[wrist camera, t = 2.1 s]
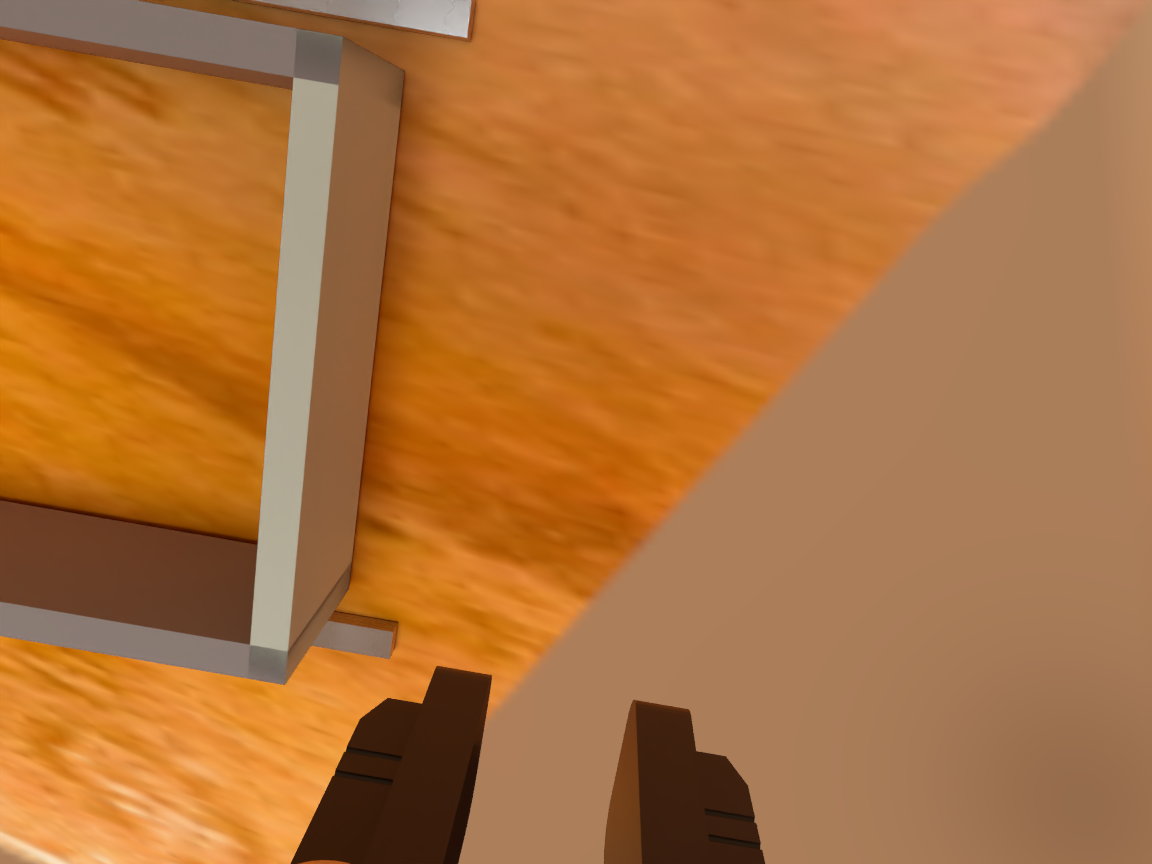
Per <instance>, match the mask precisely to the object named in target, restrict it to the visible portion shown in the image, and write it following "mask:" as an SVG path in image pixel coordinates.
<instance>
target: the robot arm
mask: <svg viewBox="0 0 1152 864" xmlns="http://www.w3.org/2000/svg"><path fill="white" fill-rule="evenodd" d="M491 680H492V675H487V674H482V673H476V672H470V671H464V670H458V669H453V668H447V667H441V666H437V667H436V669H435V671H434V674H433V676H432V679H431V682H430V684H429V687H428V690H427V692H426V695H425V698H424V700H423V703H422V704H420V703H414V702H408V701H402V700H397V699H391V698H387V699H386V700H385V701H383V702H382V703H381V704H379V705H378V706H377V707H375V708H374V709H373V710H371V711H370V712H369V713H367V714H366V715H365V716H363V717H362V718H361V719H360V720H359V723H358V725H357V727H356V729H355V731H354V733H353V735H352V737H351V739H350V741H349V743H348V745H347V749H346V752H344V754H343V756H342V758H341V760H340V762H339V764H338V766H337V768H336V771H335V775H334V776H333V777H332V779H331V781H330V783H329V785H328V787H327V789H326V791H325V793H324V795H323V797H322V799H321V801H320V804H319V806H318V808H317V810H316V812H315V814H314V816H313V818H312V820H311V822H310V824H309V826H308V829H307V831H306V833H305V835H304V837H303V839H302V841H301V843H300V845H299V847H298V849H297V851H296V853H295V856H294V858H293V860H292V862H291V864H458V862H459V857H460V853H461V849H462V845H463V841H464V836H465V832H466V827H467V823H468V818H469V813H470V808H471V803H472V798H473V793H474V787H475V781H476V775H477V769H478V763H479V757H480V750H481V744H482V738H483V732H484V726H485V719H486V713H487V707H488V701H489V694H490V688H491ZM754 818H755V816H754V812H753V807H752V802H751V798H750V793H749V789H748V785H747V784H746V783H745V782H744V780H743V779H742V777H741V776H740V775H739V773H738V772H737V771H736V770H735V768H734V767H733V765H732V764H731V763H730V761H729V760H728V759H727V758H726V756H720V755H715V754H709V753H703V752H697V751H696V748H695V741H694V734H693V726H692V721H691V714H690V711H689V710H688V709H683V708H677V707H672V706H666V705H660V704H654V703H648V702H642V701H636V700H633V702H632V704H631V708H630V711H629V715H628V720H627V724H626V730H625V734H624V739H623V743H622V749H621V753H620V758H619V763H618V768H617V772H616V777H615V782H614V787H613V791H612V796H611V801H610V806H609V813H608V819H607V827H606V836H605V849H604V864H765V861H764V856H763V852H762V850H760V839H759V834H758V829H757V825H756V823H754Z"/></svg>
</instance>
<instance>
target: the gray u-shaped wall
mask: <svg viewBox="0 0 1152 864" xmlns="http://www.w3.org/2000/svg"><path fill="white" fill-rule="evenodd" d="M0 39H4V40H10V41H16V42H22V43H27V44H33V45H39V46H45V47H50V48H56V49H62V50H67V51H73V52H79V53H85V54H90V55H96V56H102V57H108V58H113V59H119V60H125V61H131V62H136V63H142V64H148V65H153V66H159V67H165V68H171V69H176V70H182V71H188V72H194V73H199V74H205V75H211V76H217V77H222V78H228V79H234V80H239V81H245V82H251V83H257V84H262V85H268V86H274V87H280V88H285V89H291V90H293V91H292V104H291V117H290V130H289V143H288V156H287V169H286V182H285V195H284V208H283V221H282V234H281V247H280V260H279V273H278V287H277V300H276V313H275V326H274V339H273V352H272V365H271V378H270V391H269V404H268V417H267V430H266V443H265V456H264V469H263V482H262V496H261V509H260V522H259V535H258V545H256V544H250V543H244V542H238V541H233V540H227V539H221V538H215V537H209V536H204V535H198V534H192V533H186V532H180V531H175V530H169V529H163V528H157V527H151V526H146V525H140V524H134V523H128V522H122V521H117V520H111V519H105V518H99V517H93V516H88V515H82V514H76V513H70V512H65V511H59V510H53V509H47V508H41V507H36V506H30V505H24V504H18V503H12V502H7V501H1V500H0V636H4V637H10V638H16V639H21V640H27V641H33V642H39V643H45V644H50V645H56V646H62V647H68V648H74V649H79V650H85V651H91V652H97V653H103V654H108V655H114V656H120V657H126V658H132V659H138V660H143V661H149V662H155V663H161V664H167V665H172V666H178V667H184V668H190V669H196V670H201V671H207V672H213V673H219V674H225V675H231V676H236V677H242V678H248V679H254V680H260V681H265V682H271V683H277V684H283V685H285V684H286V683H287V681H288V680H289V678H290V677H291V675H292V674H293V672H294V671H295V669H296V667H297V666H298V664H299V663H300V661H301V660H302V658H303V657H304V655H305V654H306V652H307V651H308V649H309V648H310V646H311V645H312V643H313V642H314V640H315V639H316V637H317V636H318V634H319V633H320V631H321V630H322V628H323V627H324V625H325V624H326V622H327V621H328V619H329V618H330V616H331V615H332V613H333V612H334V610H335V609H336V607H337V606H338V604H339V603H340V601H341V600H342V598H343V597H344V595H345V594H346V592H347V591H348V589H349V582H350V573H351V564H352V555H353V545H354V536H355V527H356V518H357V508H358V499H359V490H360V481H361V471H362V462H363V453H364V443H365V434H366V425H367V416H368V406H369V397H370V388H371V379H372V369H373V360H374V351H375V342H376V332H377V323H378V314H379V304H380V295H381V286H382V277H383V267H384V258H385V249H386V240H387V230H388V221H389V212H390V203H391V193H392V184H393V175H394V165H395V156H396V147H397V138H398V128H399V119H400V110H401V101H402V91H403V82H404V73H405V71H404V70H402V69H400V68H398V67H397V66H395V65H393V64H391V63H389V62H388V61H386V60H384V59H382V58H381V57H379V56H377V55H375V54H373V53H372V52H370V51H368V50H366V49H365V48H363V47H361V46H359V45H357V44H356V43H354V42H352V41H350V40H349V39H347V38H345V37H343V36H338V35H332V34H326V33H321V32H315V31H309V30H303V29H298V28H292V27H286V26H281V25H275V24H269V23H263V22H258V21H252V20H246V19H240V18H235V17H229V16H223V15H218V14H212V13H206V12H200V11H195V10H189V9H183V8H177V7H172V6H166V5H160V4H155V3H149V2H143V1H137V0H0Z"/></svg>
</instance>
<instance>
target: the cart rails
mask: <svg viewBox="0 0 1152 864" xmlns="http://www.w3.org/2000/svg"><path fill="white" fill-rule="evenodd" d="M234 1H240V2H245V3H251V4H257V5H263V6H268V7H274V8H280V9H286V10H291V11H297V12H303V13H308V14H314V15H320V16H326V17H331V18H337V19H343V20H348V21H354V22H360V23H366V24H371V25H377V26H383V27H389V28H394V29H400V30H406V31H411V32H417V33H423V34H429V35H434V36H440V37H446V38H451V39H457V40H463V41H469V42H471V35H472V27H473V19H474V11H475V2H474V1H473V0H234ZM397 625H398V622H392V621H387V620H381V619H375V618H369V617H363V616H358V615H352V614H346V613H340V612H333V613H332V615H331V616H330V618H329V619H328V621H327V622H326V624H325V625H324V627H323V628H322V630H321V631H320V633H319V634H318V636H317V637H316V639H315V640H314V642H313V643H312V645H311V646H317V647H323V648H328V649H334V650H340V651H346V652H352V653H358V654H363V655H369V656H375V657H381V658H387V659H390V657H391V655H392V653H393V651H394V649H395V641H396V633H397Z"/></svg>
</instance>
